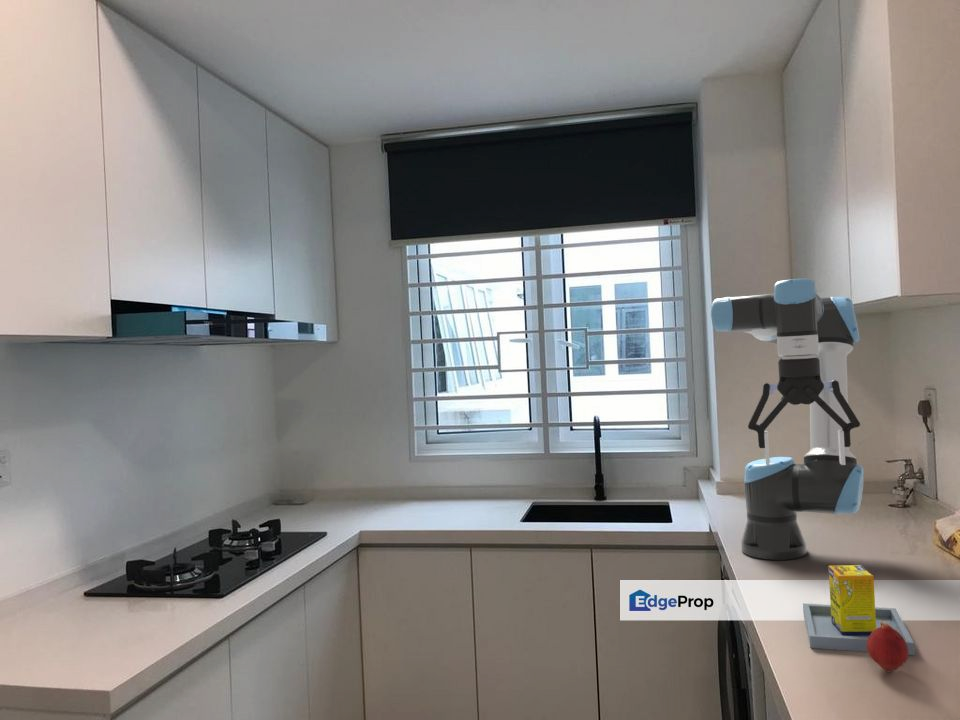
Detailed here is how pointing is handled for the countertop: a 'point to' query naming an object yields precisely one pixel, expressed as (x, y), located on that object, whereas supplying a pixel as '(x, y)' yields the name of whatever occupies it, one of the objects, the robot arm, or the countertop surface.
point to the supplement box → (852, 600)
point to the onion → (887, 647)
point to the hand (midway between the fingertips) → (804, 464)
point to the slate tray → (831, 638)
